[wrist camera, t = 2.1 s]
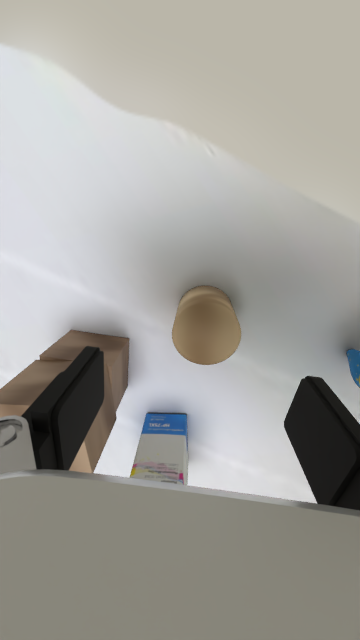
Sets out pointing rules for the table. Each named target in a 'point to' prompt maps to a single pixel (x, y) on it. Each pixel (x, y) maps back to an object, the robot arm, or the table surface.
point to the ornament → (354, 364)
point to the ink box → (162, 449)
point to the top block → (35, 381)
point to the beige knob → (206, 326)
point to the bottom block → (110, 345)
